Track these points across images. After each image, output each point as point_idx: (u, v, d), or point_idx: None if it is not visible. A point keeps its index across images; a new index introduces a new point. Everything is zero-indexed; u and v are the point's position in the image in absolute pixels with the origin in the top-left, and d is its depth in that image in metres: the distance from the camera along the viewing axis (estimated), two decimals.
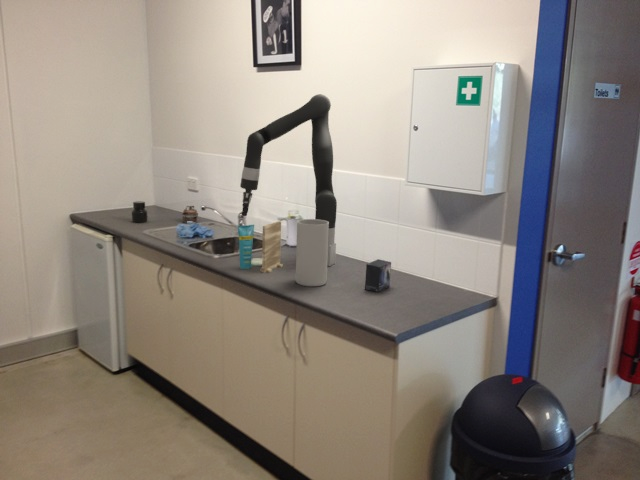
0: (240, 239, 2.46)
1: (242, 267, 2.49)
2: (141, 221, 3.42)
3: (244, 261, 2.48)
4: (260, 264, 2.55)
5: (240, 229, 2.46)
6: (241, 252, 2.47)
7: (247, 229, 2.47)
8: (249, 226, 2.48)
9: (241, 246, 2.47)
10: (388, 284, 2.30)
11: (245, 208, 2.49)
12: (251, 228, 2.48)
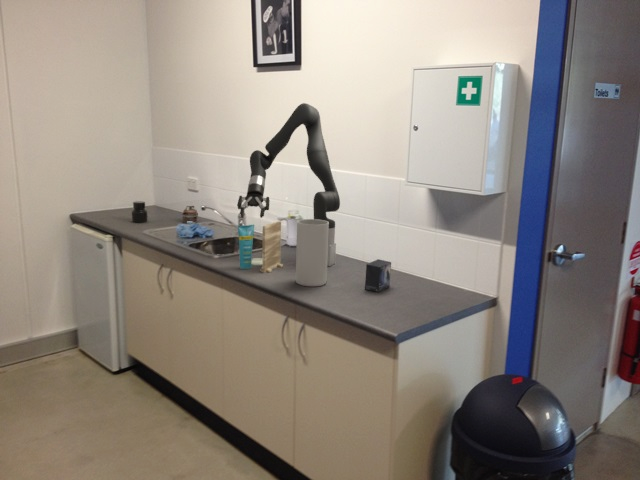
0: (240, 239, 2.46)
1: (242, 267, 2.49)
2: (141, 221, 3.42)
3: (244, 261, 2.48)
4: (260, 264, 2.55)
5: (240, 229, 2.46)
6: (241, 252, 2.47)
7: (247, 229, 2.47)
8: (249, 226, 2.48)
9: (241, 246, 2.47)
10: (388, 284, 2.30)
11: (264, 210, 2.59)
12: (251, 228, 2.48)
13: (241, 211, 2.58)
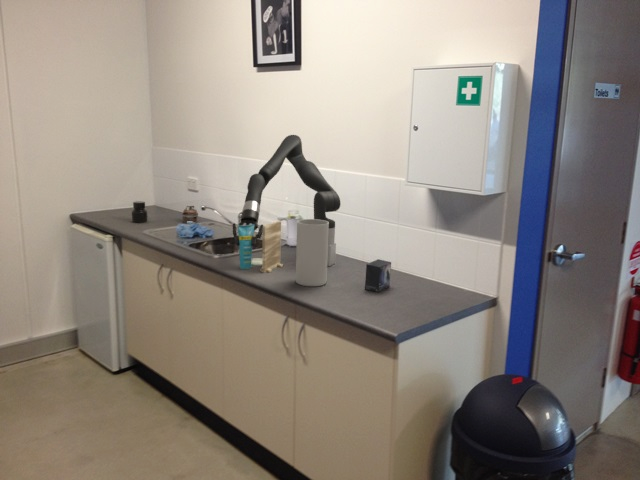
0: (240, 239, 2.46)
1: (242, 267, 2.49)
2: (141, 221, 3.42)
3: (244, 261, 2.48)
4: (260, 264, 2.55)
5: (240, 229, 2.46)
6: (241, 252, 2.47)
7: (247, 229, 2.47)
8: (249, 226, 2.48)
9: (241, 246, 2.47)
10: (388, 284, 2.30)
11: (255, 239, 2.48)
12: (252, 228, 2.48)
13: (237, 240, 2.48)
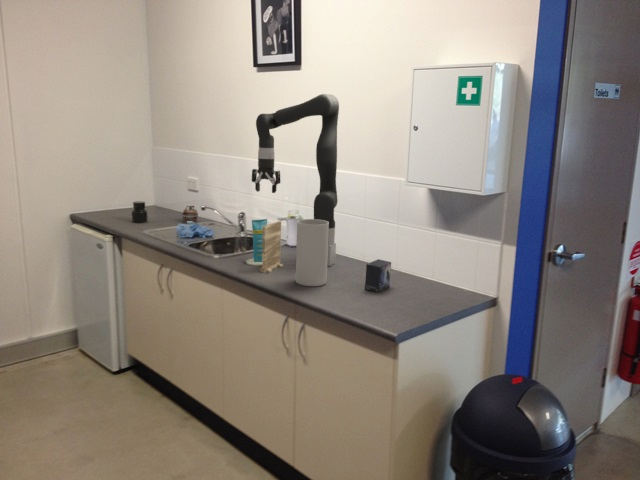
0: (254, 233, 2.56)
1: (256, 260, 2.58)
2: (141, 221, 3.42)
3: (258, 254, 2.58)
4: (260, 264, 2.55)
5: (254, 223, 2.55)
6: (255, 246, 2.57)
7: (260, 223, 2.57)
8: (263, 220, 2.57)
9: (255, 240, 2.57)
10: (388, 284, 2.30)
11: (275, 185, 2.68)
12: (265, 222, 2.58)
13: (256, 187, 2.72)
